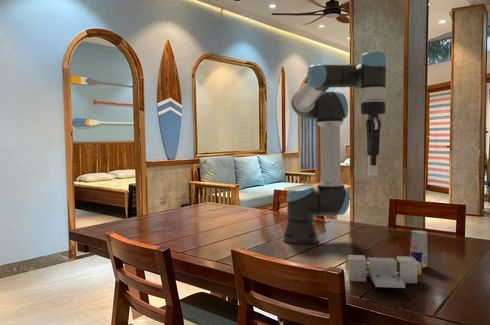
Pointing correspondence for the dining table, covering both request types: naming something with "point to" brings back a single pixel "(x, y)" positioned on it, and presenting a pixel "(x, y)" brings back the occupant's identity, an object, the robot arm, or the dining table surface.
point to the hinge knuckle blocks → (359, 274)
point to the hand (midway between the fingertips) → (372, 175)
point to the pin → (396, 266)
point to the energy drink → (419, 246)
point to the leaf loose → (384, 273)
